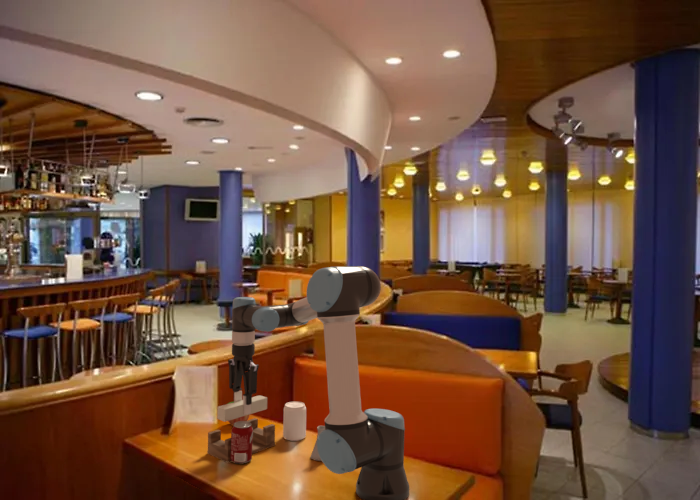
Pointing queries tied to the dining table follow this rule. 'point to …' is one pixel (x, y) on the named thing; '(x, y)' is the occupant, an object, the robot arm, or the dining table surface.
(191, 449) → the dining table surface
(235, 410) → the white rectangular bar
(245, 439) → the soda can
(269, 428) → the rack
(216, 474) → the dining table surface
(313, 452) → the flask
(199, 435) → the dining table surface
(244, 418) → the fruit
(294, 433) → the beverage can
